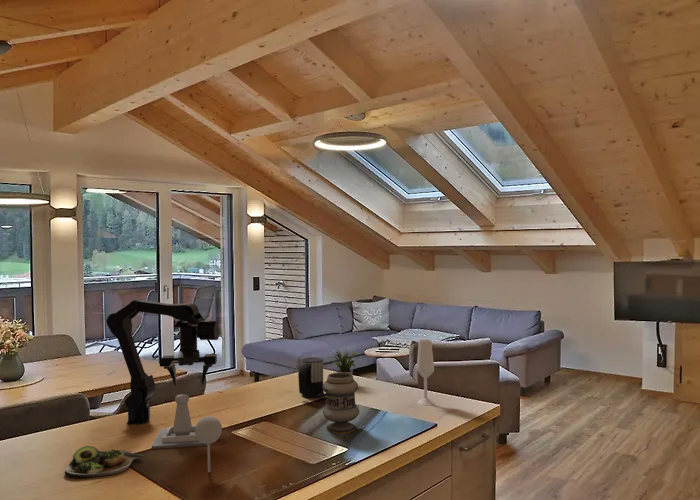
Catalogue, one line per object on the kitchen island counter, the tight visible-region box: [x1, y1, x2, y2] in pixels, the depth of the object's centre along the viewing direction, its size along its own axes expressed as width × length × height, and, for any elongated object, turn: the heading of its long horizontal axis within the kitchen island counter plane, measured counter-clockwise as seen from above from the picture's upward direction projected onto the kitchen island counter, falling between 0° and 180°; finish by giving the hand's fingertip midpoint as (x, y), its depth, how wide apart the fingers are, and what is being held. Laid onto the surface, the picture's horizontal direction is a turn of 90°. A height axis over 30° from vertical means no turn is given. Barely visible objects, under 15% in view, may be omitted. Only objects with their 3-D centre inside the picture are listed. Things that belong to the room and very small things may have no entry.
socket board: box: [151, 424, 207, 450], centre depth 179 cm, size 16×16×2 cm
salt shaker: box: [172, 393, 193, 436], centre depth 179 cm, size 6×6×13 cm
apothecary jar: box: [322, 371, 360, 434], centre depth 186 cm, size 12×12×18 cm
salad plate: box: [64, 445, 144, 479], centre depth 158 cm, size 19×18×5 cm
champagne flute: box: [416, 338, 435, 406], centre depth 215 cm, size 7×7×24 cm
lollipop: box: [195, 415, 223, 473], centre depth 152 cm, size 7×7×15 cm
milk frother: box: [297, 356, 326, 399], centre depth 225 cm, size 14×16×15 cm
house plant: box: [329, 348, 358, 375], centre depth 244 cm, size 14×14×16 cm
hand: (189, 384), depth 195 cm, fingers open, 9 cm apart
